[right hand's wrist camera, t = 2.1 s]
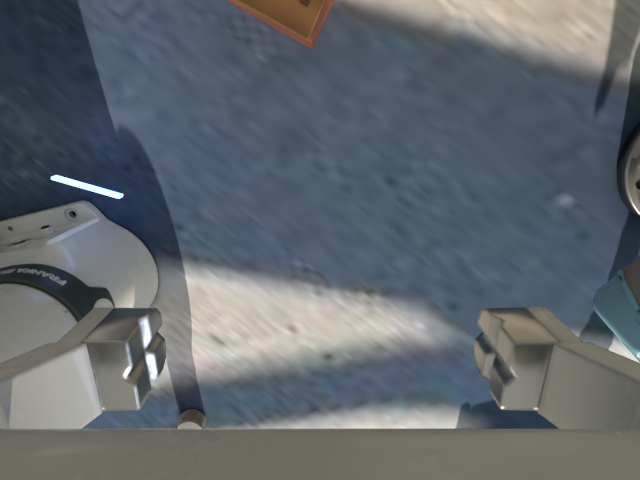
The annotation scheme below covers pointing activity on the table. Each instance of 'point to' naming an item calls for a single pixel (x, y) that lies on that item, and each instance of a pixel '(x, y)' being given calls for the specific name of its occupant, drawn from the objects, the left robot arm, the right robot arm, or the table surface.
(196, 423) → the light bulb
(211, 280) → the table surface
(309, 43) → the chest
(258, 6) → the lid
